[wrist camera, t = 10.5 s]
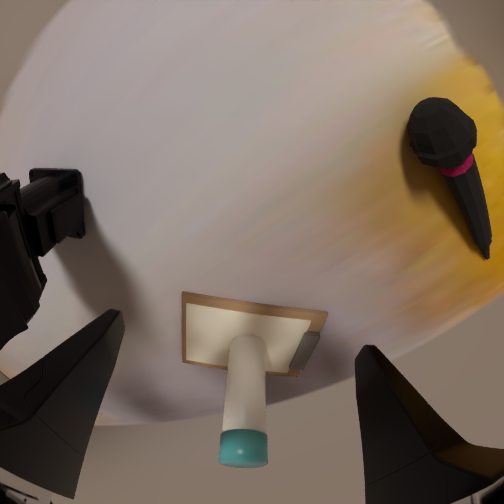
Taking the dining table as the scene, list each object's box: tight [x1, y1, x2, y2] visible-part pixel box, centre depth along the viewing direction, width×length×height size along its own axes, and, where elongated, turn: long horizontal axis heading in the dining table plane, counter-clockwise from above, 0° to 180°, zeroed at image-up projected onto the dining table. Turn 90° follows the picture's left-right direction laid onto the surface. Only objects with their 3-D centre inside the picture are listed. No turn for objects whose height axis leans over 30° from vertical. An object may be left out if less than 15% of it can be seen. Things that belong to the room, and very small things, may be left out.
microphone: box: [408, 97, 492, 260], centre depth 17 cm, size 6×6×20 cm
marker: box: [219, 334, 268, 468], centre depth 22 cm, size 4×4×13 cm
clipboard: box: [182, 292, 328, 377], centre depth 28 cm, size 14×11×1 cm
